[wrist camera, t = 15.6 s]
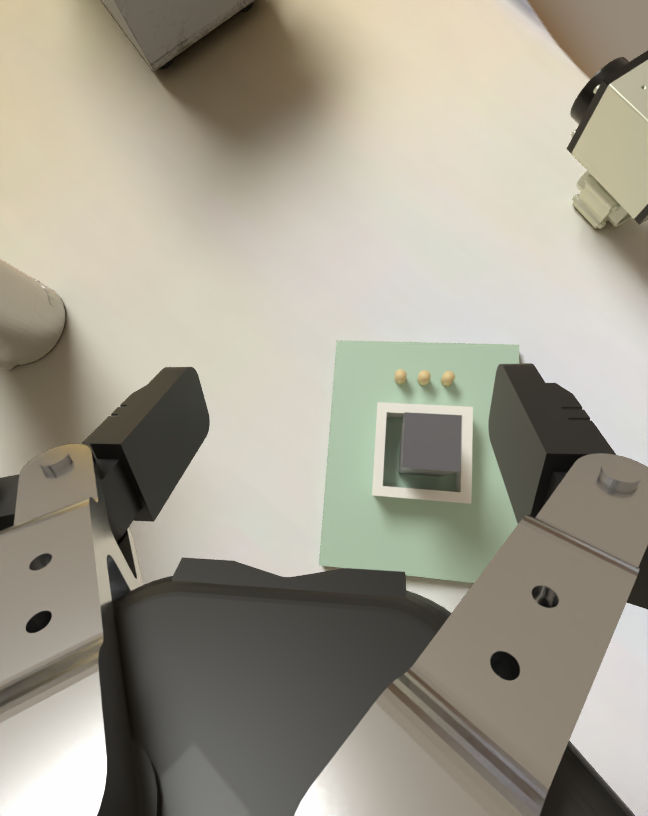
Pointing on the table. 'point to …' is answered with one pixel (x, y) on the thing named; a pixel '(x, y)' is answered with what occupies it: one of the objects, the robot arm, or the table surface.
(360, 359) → the board
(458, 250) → the table surface
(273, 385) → the table surface
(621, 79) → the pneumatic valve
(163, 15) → the vintage electronic device
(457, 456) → the grey rectangular block
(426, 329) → the table surface
